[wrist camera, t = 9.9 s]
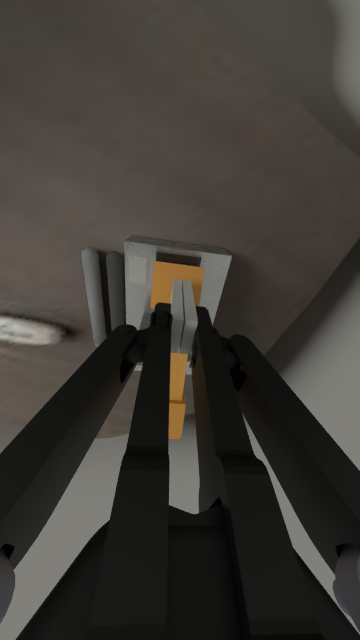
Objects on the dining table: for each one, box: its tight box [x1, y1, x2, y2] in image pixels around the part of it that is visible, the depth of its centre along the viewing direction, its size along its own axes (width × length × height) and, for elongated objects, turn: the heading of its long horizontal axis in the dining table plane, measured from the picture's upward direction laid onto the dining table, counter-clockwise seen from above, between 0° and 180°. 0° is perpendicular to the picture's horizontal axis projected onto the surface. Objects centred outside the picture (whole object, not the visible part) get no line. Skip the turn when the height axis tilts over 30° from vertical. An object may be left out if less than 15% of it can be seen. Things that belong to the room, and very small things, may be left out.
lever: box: [150, 261, 205, 439], centre depth 20 cm, size 19×5×3 cm, turn 172°
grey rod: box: [81, 248, 107, 347], centre depth 27 cm, size 16×2×2 cm, turn 172°
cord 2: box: [106, 251, 124, 331], centre depth 28 cm, size 16×2×2 cm, turn 172°
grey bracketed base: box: [124, 235, 232, 375], centre depth 24 cm, size 20×12×11 cm, turn 172°
